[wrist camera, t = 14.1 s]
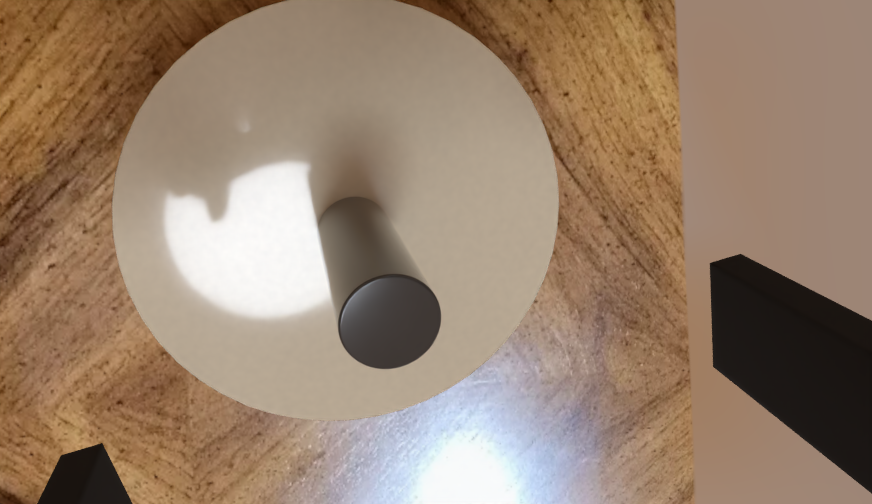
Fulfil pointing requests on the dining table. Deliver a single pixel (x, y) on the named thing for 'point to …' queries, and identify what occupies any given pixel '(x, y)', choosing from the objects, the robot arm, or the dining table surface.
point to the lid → (335, 207)
